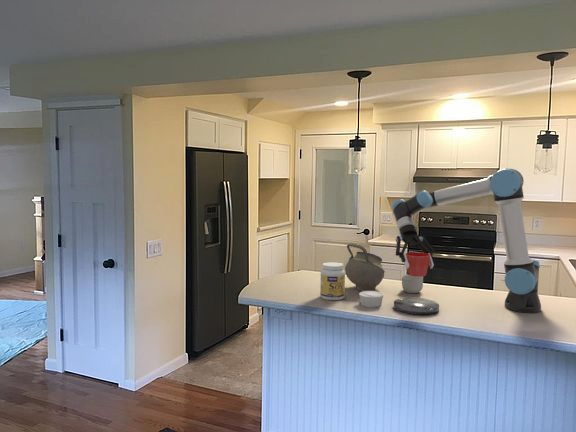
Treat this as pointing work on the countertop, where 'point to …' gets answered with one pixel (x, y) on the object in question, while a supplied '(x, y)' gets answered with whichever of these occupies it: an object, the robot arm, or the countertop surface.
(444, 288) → the countertop surface
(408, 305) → the disc
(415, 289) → the teacup
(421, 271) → the flower pot
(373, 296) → the ramekin
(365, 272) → the pot
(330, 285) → the supplement tub
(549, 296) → the countertop surface
